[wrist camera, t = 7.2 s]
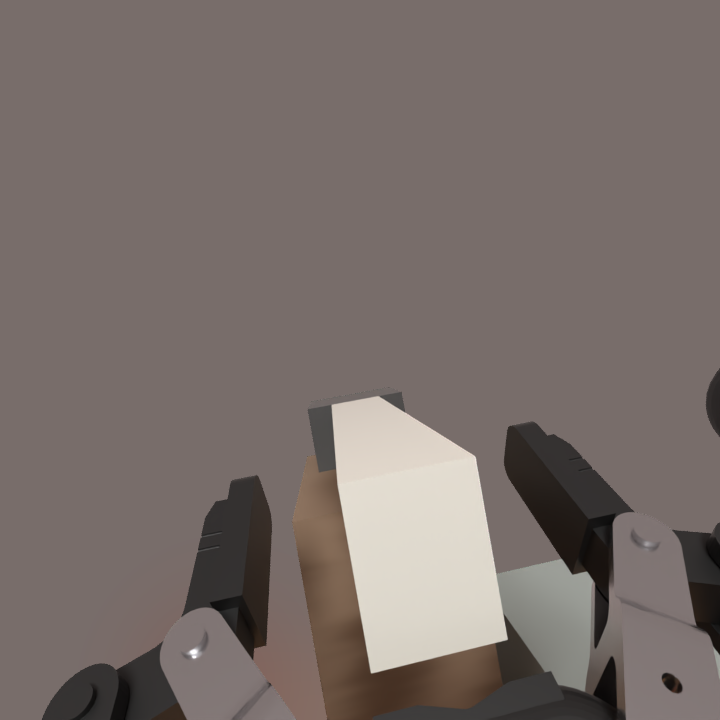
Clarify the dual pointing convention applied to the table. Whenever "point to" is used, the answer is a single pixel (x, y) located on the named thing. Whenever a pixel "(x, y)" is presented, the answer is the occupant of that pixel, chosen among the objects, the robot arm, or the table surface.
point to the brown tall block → (345, 630)
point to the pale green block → (547, 624)
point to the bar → (409, 530)
